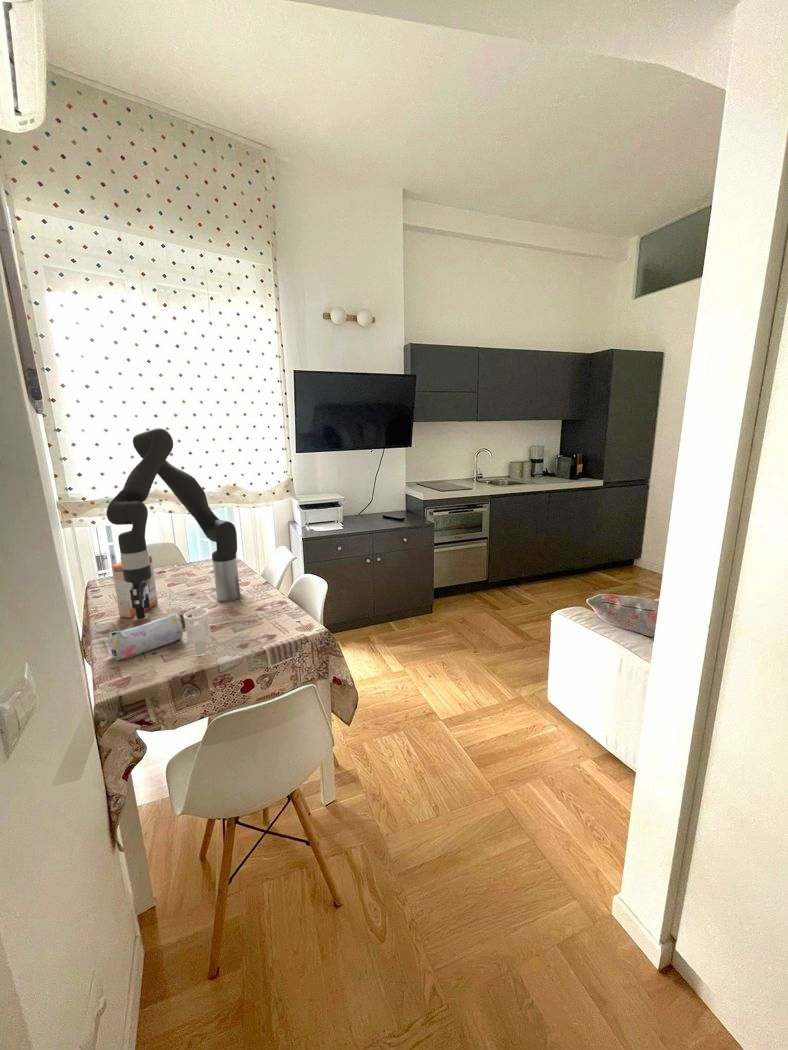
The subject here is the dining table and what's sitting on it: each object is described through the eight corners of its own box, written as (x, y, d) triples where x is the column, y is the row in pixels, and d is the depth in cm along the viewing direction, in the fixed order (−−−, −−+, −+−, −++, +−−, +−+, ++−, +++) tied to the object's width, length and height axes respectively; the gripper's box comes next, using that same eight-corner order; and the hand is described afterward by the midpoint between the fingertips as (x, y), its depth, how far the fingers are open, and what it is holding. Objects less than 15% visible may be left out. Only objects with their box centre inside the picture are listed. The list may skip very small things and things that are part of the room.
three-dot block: (151, 624, 157) (149, 612, 156) (148, 629, 153) (146, 617, 152) (137, 626, 156) (135, 614, 155) (134, 632, 152) (132, 620, 151)
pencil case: (114, 666, 130) (109, 637, 128) (109, 655, 136) (103, 628, 134) (187, 642, 144) (183, 616, 142) (179, 633, 150) (175, 608, 148)
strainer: (216, 647, 140) (211, 604, 136) (208, 659, 133) (202, 614, 129) (194, 648, 139) (188, 605, 136) (185, 660, 132) (178, 615, 129)
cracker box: (132, 618, 162) (123, 566, 158) (119, 617, 164) (109, 565, 159) (159, 603, 176) (151, 555, 171) (146, 603, 177) (138, 554, 172)
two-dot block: (192, 620, 160) (190, 608, 159) (191, 625, 156) (189, 613, 155) (179, 622, 159) (177, 610, 158) (177, 627, 155) (175, 615, 154)
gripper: (145, 570, 128) (153, 620, 132) (153, 557, 141) (160, 602, 145) (116, 573, 126) (125, 624, 129) (127, 559, 139) (135, 606, 142)
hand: (143, 613), depth 137 cm, fingers open, 8 cm apart
